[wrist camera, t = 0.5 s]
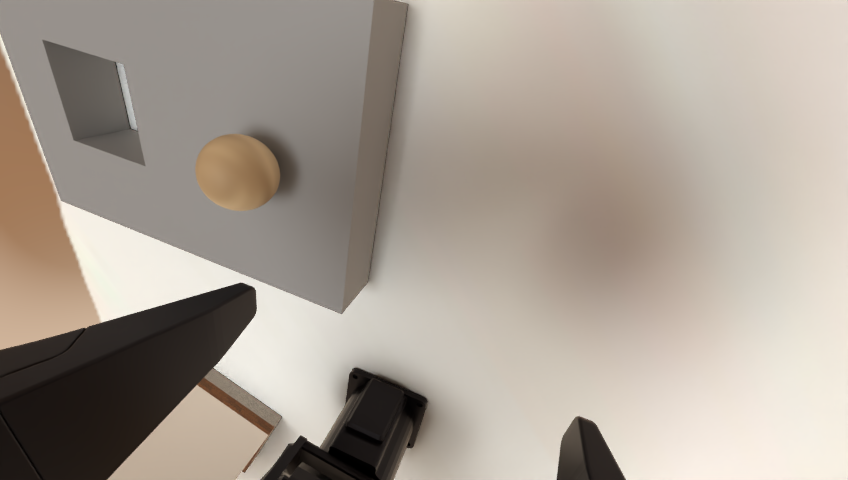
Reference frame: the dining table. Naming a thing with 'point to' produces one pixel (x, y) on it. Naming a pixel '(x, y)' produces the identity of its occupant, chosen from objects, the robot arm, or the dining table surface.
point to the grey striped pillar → (204, 436)
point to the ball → (237, 172)
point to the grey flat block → (220, 122)
